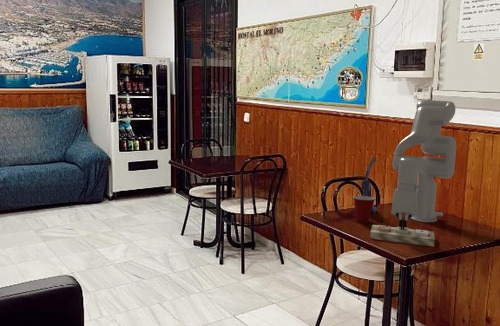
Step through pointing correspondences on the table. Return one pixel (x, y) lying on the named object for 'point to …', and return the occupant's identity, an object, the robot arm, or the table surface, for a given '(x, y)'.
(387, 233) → the board
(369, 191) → the hand press
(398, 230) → the tile two
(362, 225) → the table surface
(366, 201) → the plastic cup
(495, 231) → the table surface
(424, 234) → the tile one
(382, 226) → the tile three
